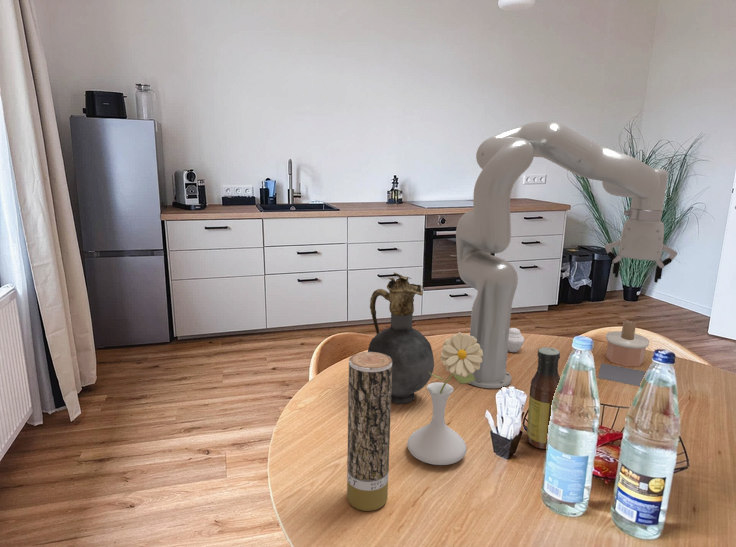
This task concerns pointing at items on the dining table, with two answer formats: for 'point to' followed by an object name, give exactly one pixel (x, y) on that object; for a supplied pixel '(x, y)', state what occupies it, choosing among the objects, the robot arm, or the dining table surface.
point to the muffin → (515, 340)
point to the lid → (627, 337)
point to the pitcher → (402, 341)
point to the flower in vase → (437, 437)
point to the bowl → (625, 355)
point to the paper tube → (368, 429)
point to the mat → (621, 374)
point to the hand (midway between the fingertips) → (635, 278)
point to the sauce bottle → (542, 396)
